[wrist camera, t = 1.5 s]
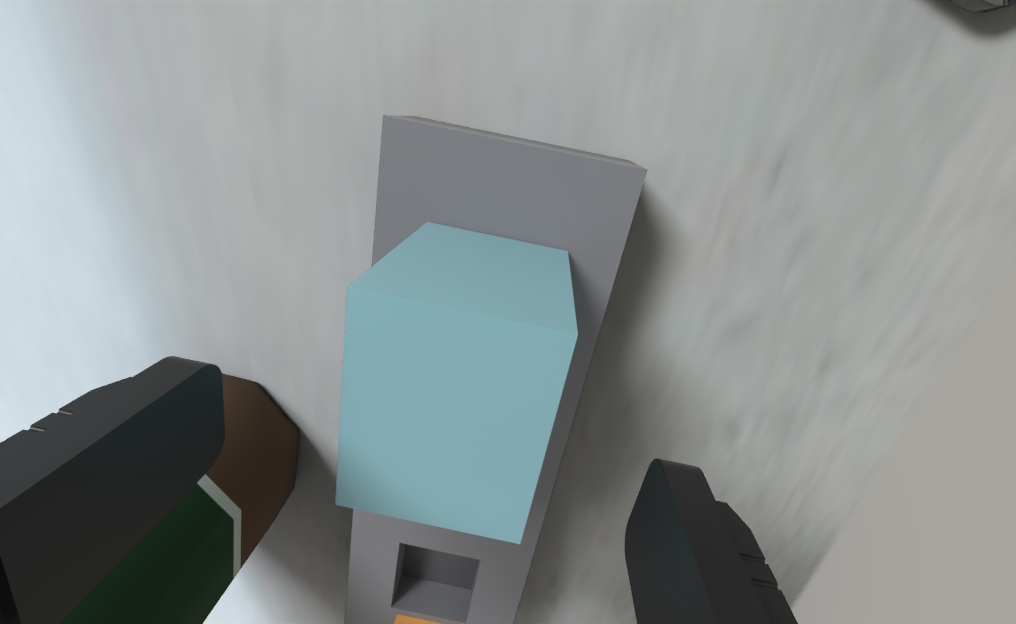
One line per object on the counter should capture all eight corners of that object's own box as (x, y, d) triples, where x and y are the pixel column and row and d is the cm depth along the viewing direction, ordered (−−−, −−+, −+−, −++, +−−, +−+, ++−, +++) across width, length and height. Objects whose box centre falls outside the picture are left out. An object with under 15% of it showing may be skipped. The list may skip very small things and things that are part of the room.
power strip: (414, 116, 15) (372, 115, 11) (629, 160, 15) (653, 173, 11) (367, 582, 23) (335, 663, 20) (503, 611, 23) (495, 698, 20)
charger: (440, 211, 14) (347, 286, 8) (566, 237, 14) (577, 335, 8) (421, 351, 16) (334, 504, 10) (533, 374, 16) (520, 544, 10)
